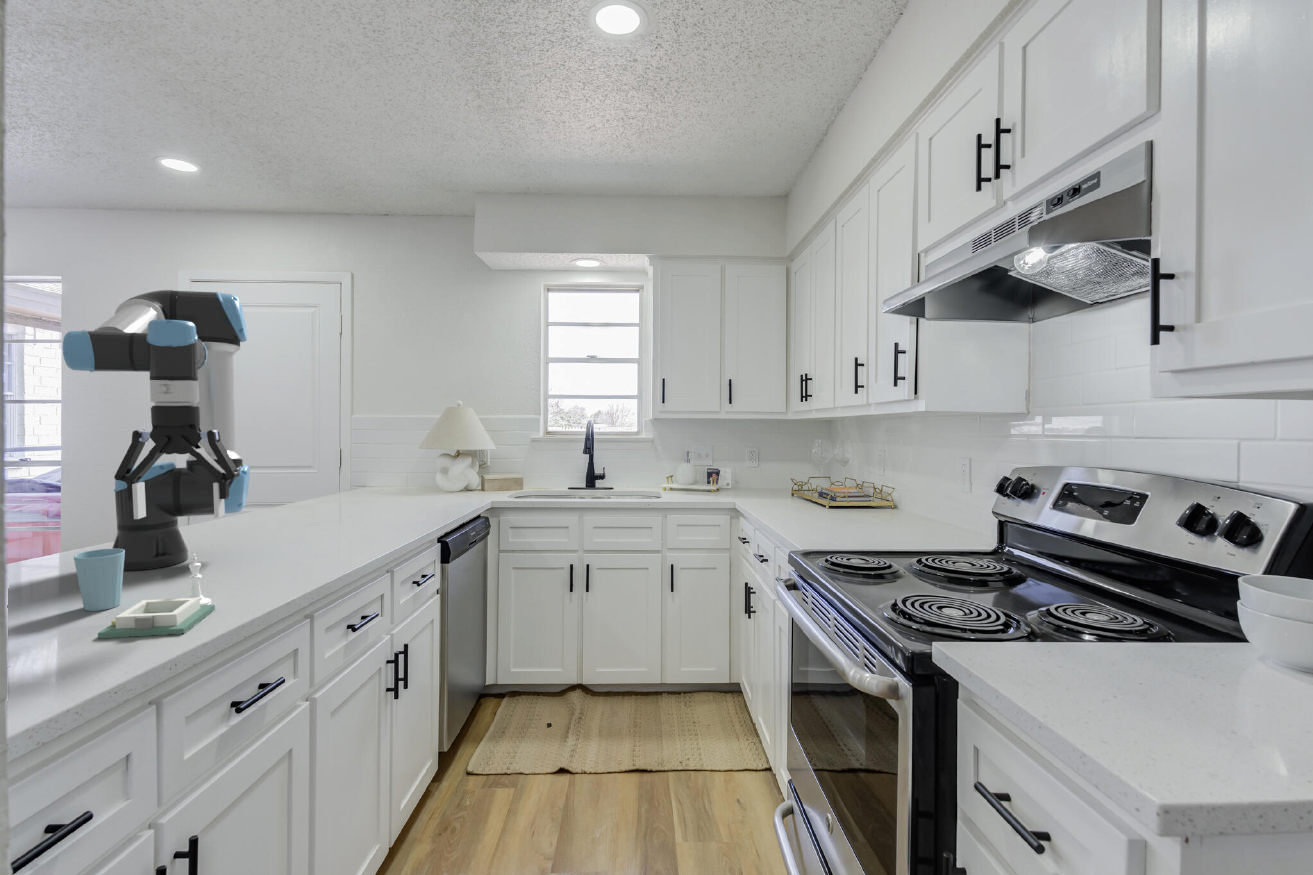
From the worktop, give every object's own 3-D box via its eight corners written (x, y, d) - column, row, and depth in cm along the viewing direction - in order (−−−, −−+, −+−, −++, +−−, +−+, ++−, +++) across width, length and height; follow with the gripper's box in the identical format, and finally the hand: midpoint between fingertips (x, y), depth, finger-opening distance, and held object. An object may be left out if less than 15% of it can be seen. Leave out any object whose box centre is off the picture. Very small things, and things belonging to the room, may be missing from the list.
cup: (121, 610, 134) (118, 555, 133) (70, 615, 131) (67, 559, 130) (132, 598, 141) (129, 546, 140) (84, 603, 138) (81, 550, 137)
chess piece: (189, 611, 134) (186, 559, 133) (176, 606, 137) (174, 555, 136) (216, 604, 138) (214, 553, 137) (203, 599, 141) (201, 550, 140)
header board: (137, 613, 132) (136, 597, 132) (214, 609, 135) (214, 594, 135) (98, 638, 120) (97, 621, 119) (184, 634, 122) (183, 617, 122)
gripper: (87, 404, 126) (93, 522, 128) (240, 405, 131) (244, 519, 133) (111, 403, 134) (117, 514, 136) (255, 403, 138) (259, 511, 140)
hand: (180, 517), depth 134 cm, fingers open, 13 cm apart
